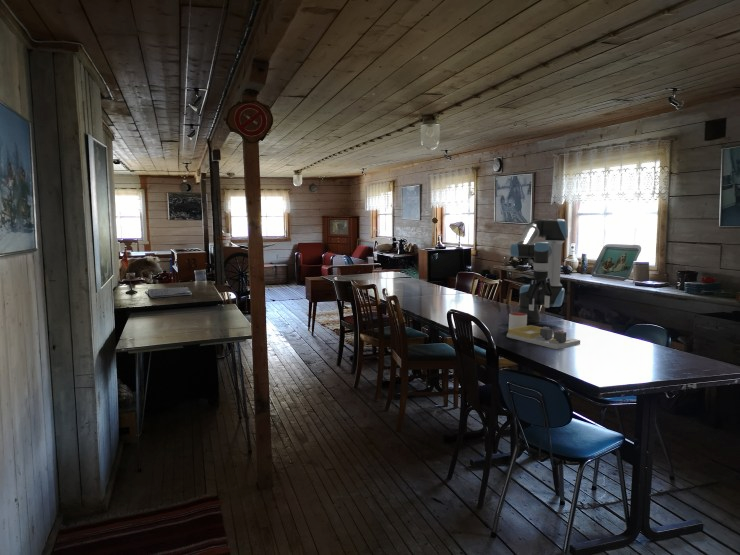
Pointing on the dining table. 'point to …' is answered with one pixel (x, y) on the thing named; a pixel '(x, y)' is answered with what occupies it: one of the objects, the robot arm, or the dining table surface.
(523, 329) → the panel
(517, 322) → the cup
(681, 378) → the dining table surface
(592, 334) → the dining table surface
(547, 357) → the dining table surface
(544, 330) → the breaker
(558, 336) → the breaker
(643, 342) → the dining table surface
